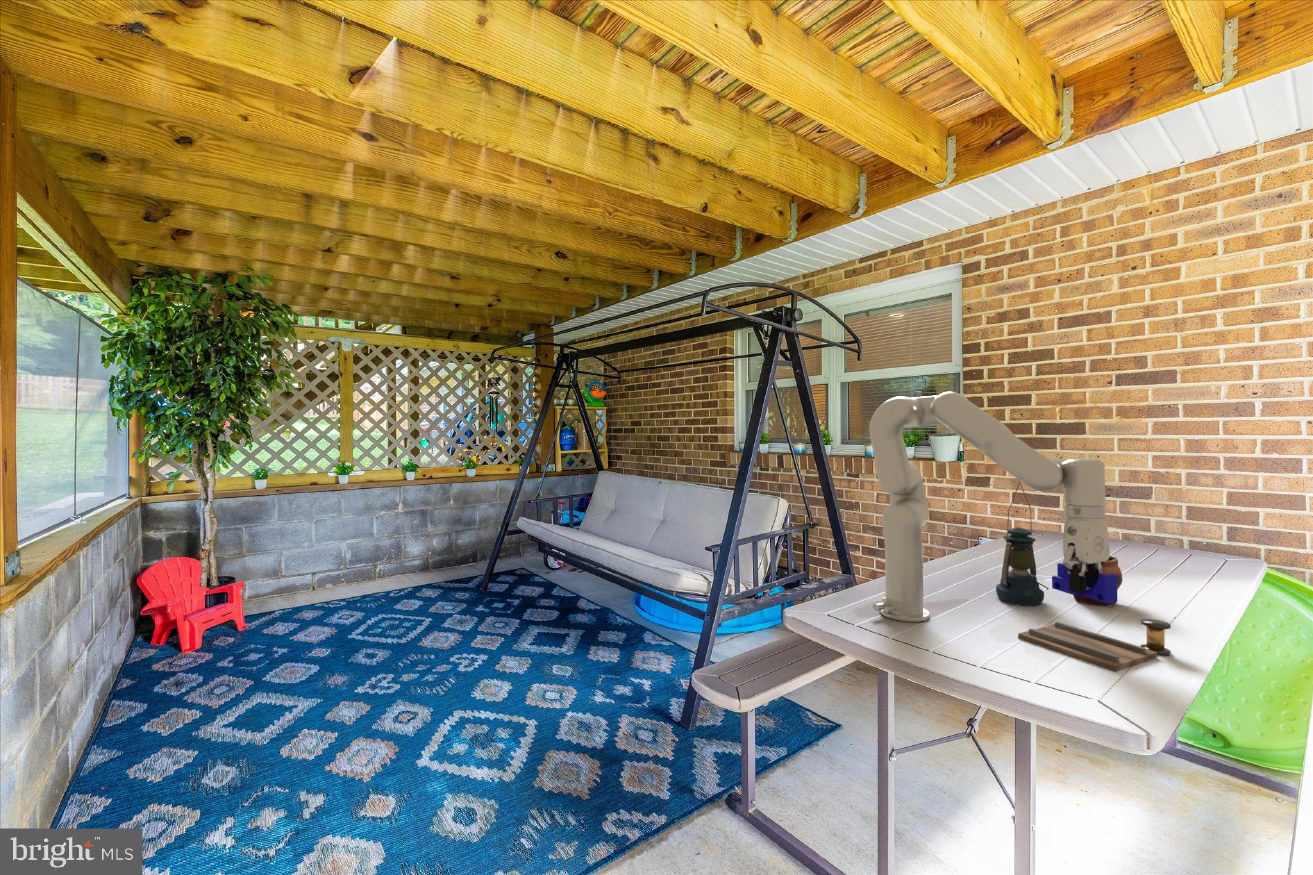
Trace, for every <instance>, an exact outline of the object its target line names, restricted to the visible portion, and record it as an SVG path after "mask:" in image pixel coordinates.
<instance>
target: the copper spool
mask: <svg viewBox="0 0 1313 875" xmlns="http://www.w3.org/2000/svg"><path fill="white" fill-rule="evenodd" d="M1140 624H1142V625H1143V626H1145V627H1146V643H1143V644H1140V647H1143V648H1146V649H1147V650H1150V651H1154V652H1157V656H1162V657H1169V656H1171V655H1172V654H1171V653H1172V652H1171V650H1170V649H1168V648H1166V647H1165V644H1166V643H1165V640H1166V639H1165V636H1166V635H1165V630H1170V629H1171V628H1172V627H1171V626H1172V625H1171V624H1170V623H1169V622H1166V621H1164V620H1161V619H1154V618H1141V619H1140Z"/></svg>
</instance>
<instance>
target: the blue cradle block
mask: <svg viewBox="0 0 1313 875" xmlns="http://www.w3.org/2000/svg"><path fill="white" fill-rule="evenodd" d="M1056 565H1057V566H1056V567H1057V569H1056V570H1057V575H1052V576H1051V587H1052V588H1051V589H1053V590H1056V591H1059V592H1063V593H1066V594H1069V595H1072V596H1073V595H1075V596H1076V595H1082V596H1085V597H1088V598H1091V599H1094V600H1097V601H1100V602H1104V603H1115V602H1117V603H1118V590H1117V575H1114V574H1099V578H1098V581H1097V583H1096V585H1095V586H1094V587H1093V588H1091V587H1088V586H1086V594H1081V593H1077V592H1073V591H1070V585H1069V574H1068V569H1067V567H1066V566H1065V565H1064V564H1063V562H1059V563H1057V564H1056Z"/></svg>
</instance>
